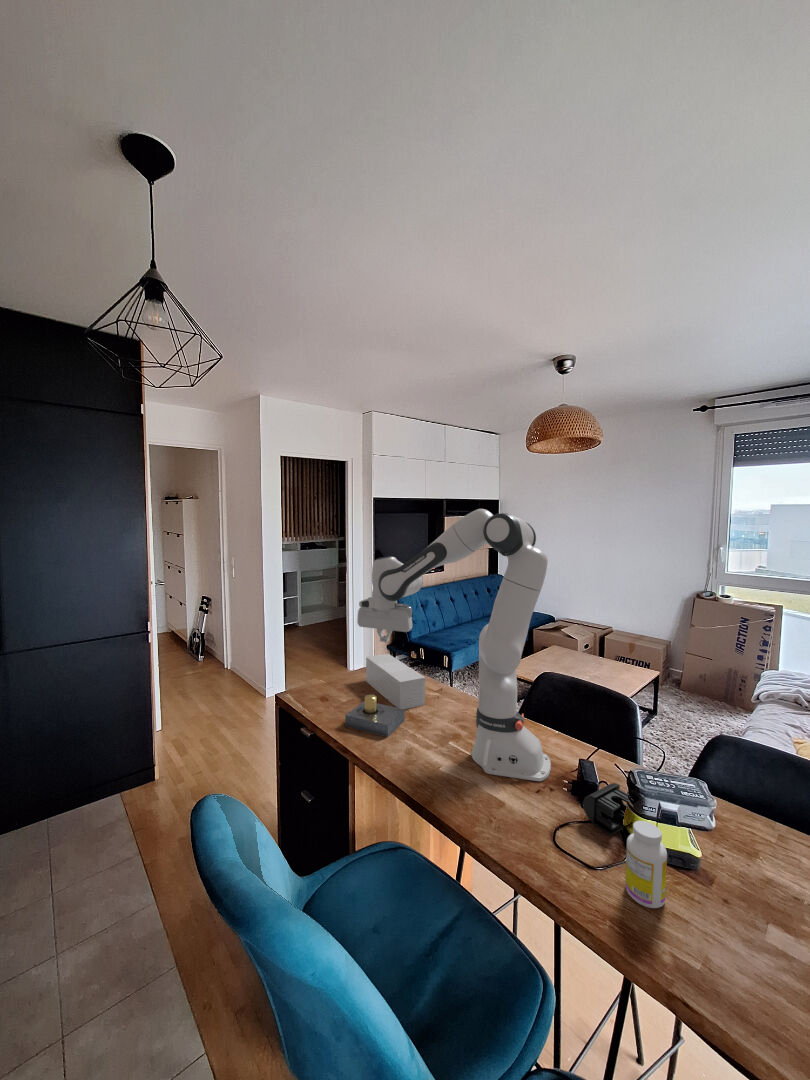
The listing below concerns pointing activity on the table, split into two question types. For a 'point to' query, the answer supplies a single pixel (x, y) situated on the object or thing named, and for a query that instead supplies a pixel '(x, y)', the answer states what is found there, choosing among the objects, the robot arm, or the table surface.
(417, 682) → the light gray rectangular block
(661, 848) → the supplement bottle
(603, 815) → the end cap
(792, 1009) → the table surface
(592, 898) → the table surface
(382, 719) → the jig
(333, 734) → the table surface
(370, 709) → the peg
